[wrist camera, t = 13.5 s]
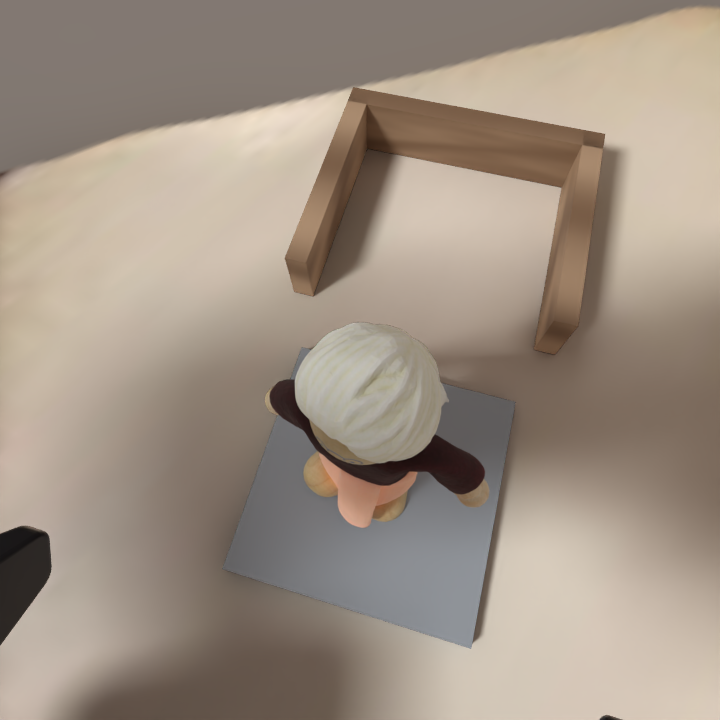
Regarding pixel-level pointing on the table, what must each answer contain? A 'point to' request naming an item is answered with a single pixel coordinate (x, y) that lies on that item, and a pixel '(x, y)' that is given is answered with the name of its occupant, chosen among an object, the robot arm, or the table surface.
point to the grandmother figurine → (374, 422)
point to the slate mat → (379, 530)
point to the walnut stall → (472, 151)
